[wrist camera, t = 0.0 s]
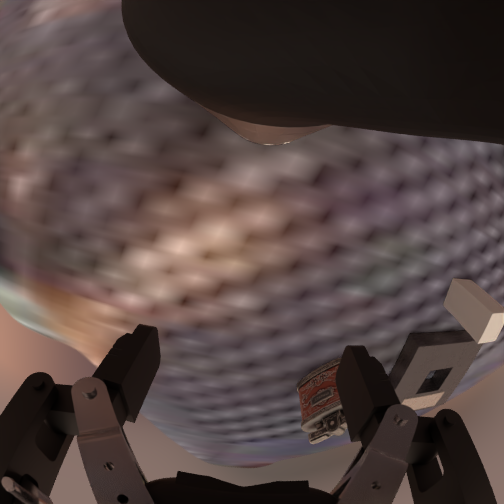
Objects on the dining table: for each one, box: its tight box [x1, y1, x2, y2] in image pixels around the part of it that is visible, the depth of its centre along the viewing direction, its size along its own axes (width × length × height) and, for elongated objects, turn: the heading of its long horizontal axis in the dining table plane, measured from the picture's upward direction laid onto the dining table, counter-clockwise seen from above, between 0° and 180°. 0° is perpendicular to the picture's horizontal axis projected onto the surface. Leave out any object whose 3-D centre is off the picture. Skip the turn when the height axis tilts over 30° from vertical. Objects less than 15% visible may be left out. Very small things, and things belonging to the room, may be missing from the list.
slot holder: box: [388, 330, 483, 411], centre depth 32 cm, size 15×15×3 cm
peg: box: [443, 278, 504, 344], centre depth 24 cm, size 4×4×9 cm
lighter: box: [297, 358, 348, 444], centre depth 29 cm, size 8×3×10 cm, turn 133°
